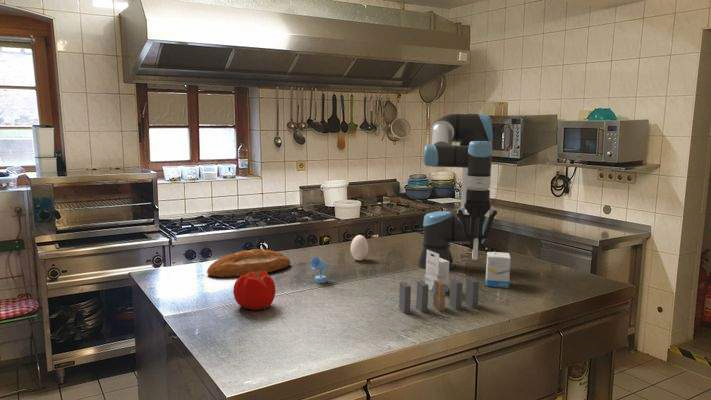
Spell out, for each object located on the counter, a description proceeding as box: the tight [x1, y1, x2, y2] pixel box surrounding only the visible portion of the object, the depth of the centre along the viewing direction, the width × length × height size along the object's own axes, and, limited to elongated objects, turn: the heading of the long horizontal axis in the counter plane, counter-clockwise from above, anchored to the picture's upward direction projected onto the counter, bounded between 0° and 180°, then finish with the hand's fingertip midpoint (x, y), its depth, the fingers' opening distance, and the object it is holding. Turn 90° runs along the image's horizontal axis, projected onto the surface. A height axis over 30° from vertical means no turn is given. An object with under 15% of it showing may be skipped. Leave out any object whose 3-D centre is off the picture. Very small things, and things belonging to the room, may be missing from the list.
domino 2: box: [415, 280, 429, 313], centre depth 171 cm, size 5×2×9 cm, turn 15°
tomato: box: [232, 271, 276, 311], centre depth 171 cm, size 13×14×12 cm
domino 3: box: [448, 278, 463, 311], centre depth 174 cm, size 5×2×9 cm, turn 15°
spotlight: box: [309, 256, 329, 284], centre depth 200 cm, size 5×10×7 cm
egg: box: [350, 234, 369, 261], centre depth 231 cm, size 8×8×11 cm
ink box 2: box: [485, 251, 512, 289], centre depth 200 cm, size 9×8×12 cm
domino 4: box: [465, 277, 480, 309], centre depth 176 cm, size 5×2×9 cm, turn 15°
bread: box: [206, 248, 292, 278], centre depth 213 cm, size 18×35×9 cm, turn 121°
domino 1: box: [398, 281, 412, 315], centre depth 170 cm, size 5×2×9 cm, turn 15°
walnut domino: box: [432, 280, 446, 312], centre depth 172 cm, size 5×2×9 cm, turn 15°
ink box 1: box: [424, 249, 450, 294], centre depth 191 cm, size 8×5×15 cm, turn 26°
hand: (474, 258), depth 174 cm, fingers closed
